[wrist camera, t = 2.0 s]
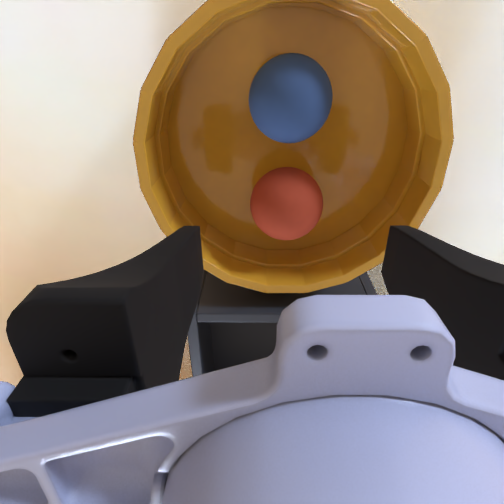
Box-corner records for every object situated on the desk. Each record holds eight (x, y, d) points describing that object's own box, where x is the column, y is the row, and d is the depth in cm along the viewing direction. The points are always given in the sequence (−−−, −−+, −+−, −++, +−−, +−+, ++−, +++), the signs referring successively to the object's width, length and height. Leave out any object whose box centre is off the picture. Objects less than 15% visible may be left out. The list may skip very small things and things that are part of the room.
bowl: (444, -13, 16) (496, -32, 12) (391, 255, 22) (416, 293, 19) (139, -9, 16) (105, -25, 13) (173, 255, 22) (156, 293, 19)
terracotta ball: (320, 158, 19) (332, 179, 16) (315, 222, 21) (325, 253, 18) (250, 158, 19) (248, 180, 16) (251, 222, 21) (249, 253, 18)
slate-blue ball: (328, 52, 17) (344, 52, 13) (322, 134, 18) (335, 151, 15) (249, 52, 17) (246, 53, 14) (250, 134, 18) (248, 152, 15)
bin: (365, 269, 23) (387, 314, 19) (346, 387, 28) (360, 442, 24) (197, 269, 23) (184, 313, 19) (208, 386, 28) (200, 440, 24)
